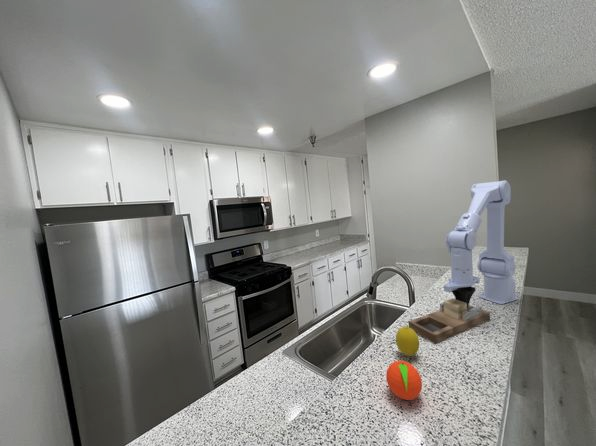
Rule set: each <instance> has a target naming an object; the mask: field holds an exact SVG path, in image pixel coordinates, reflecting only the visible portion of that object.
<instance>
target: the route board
mask: <svg viewBox="0 0 596 446" xmlns="http://www.w3.org/2000/svg"><path fill="white" fill-rule="evenodd" d="M475 307H476V306H472V305H470V304H469V306H468V309H467V310H470V309H472V308H475ZM488 321H491V312H490V311H487V310H483V309H482V308H481V315H479V316H477V317H475V318H472V319H470V320H467V321H463V318H460V319H456V318H454V317H451V316H449V315H446V314H444V312H441V311H440V309H439V310H437V311H434V312H431V313H428V314H426V315H422V316H420V317H417V318H415V319H411V320H409V321H408V327H409V328H411V329H413V330H414V331H415V332H416V334H417V336H420V337H422V338H424V339H425V340H427V341H429V342H431V343H433V344H435V345H436V344H438V343H441V342H442V341H445V340H447V339H449V338H452V337H454V336H456V335H459V334H461V333H463V332H465V331H468V330H470V329H472V328H475V327H477V326H479V325H482V324H484V323H486V322H488Z"/></svg>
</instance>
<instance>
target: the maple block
mask: <svg viewBox="0 0 596 446" xmlns="http://www.w3.org/2000/svg"><path fill="white" fill-rule="evenodd" d="M442 303H443V305H444V314H446V315H449V316H451V317H454V318H456V319H460V318H462V312H465V311H467V303H465V302H462V301H459V300H456V298H449V299H447V300H444V301H442Z"/></svg>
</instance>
